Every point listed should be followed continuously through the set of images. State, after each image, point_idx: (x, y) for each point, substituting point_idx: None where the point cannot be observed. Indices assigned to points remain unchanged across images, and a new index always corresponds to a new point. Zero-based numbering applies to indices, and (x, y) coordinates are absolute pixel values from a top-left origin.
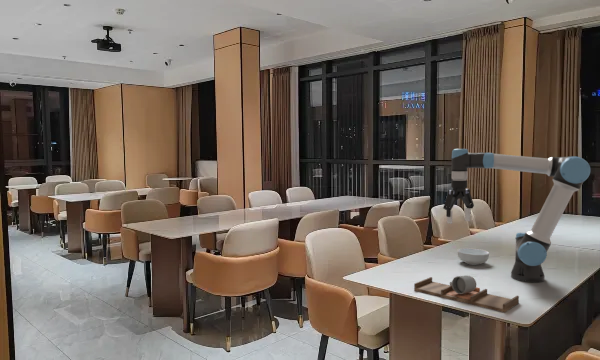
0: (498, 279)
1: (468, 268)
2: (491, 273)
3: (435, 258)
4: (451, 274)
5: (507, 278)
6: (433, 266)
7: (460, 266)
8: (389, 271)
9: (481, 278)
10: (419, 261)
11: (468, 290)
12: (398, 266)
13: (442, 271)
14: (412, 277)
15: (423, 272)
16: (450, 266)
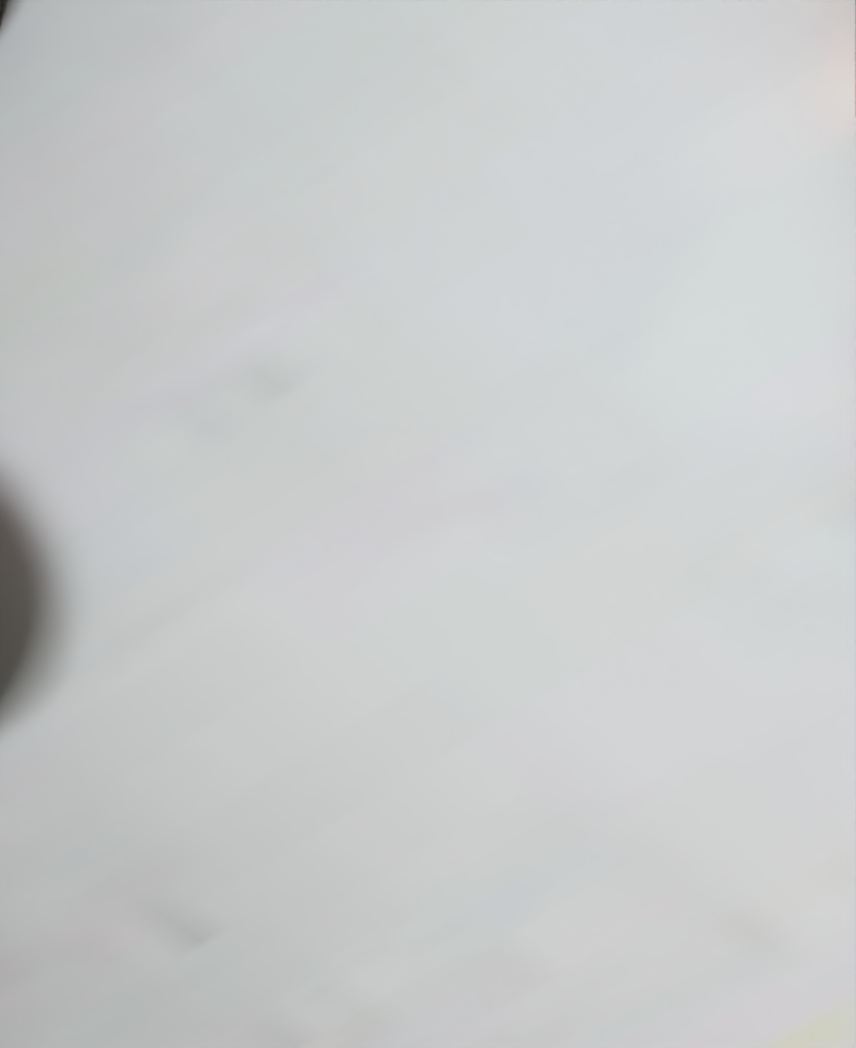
0: (160, 130)
1: (59, 578)
2: (19, 317)
3: (25, 969)
4: (399, 563)
5: (42, 87)
6: (288, 831)
7: (64, 669)
8: (781, 985)
9: (278, 276)
10: (245, 1003)
11: None
12: (559, 1026)
13: (375, 680)
14: (804, 743)
15: (558, 774)
16: (149, 730)
